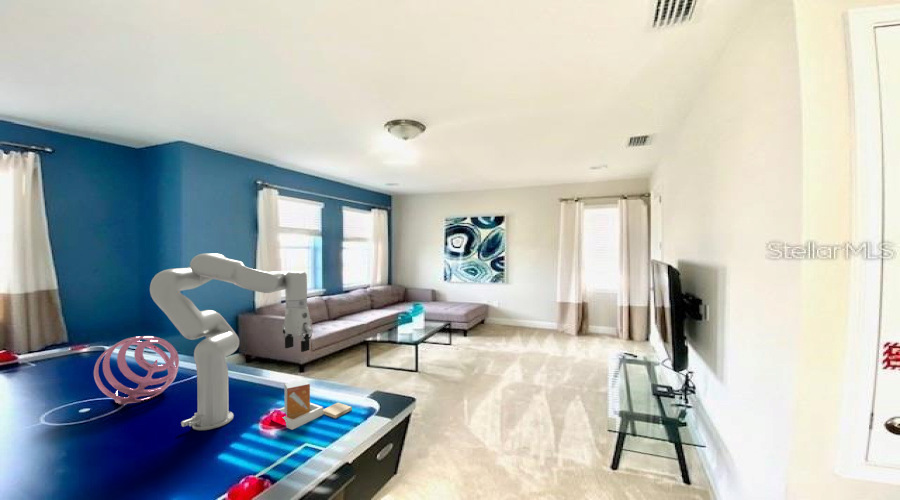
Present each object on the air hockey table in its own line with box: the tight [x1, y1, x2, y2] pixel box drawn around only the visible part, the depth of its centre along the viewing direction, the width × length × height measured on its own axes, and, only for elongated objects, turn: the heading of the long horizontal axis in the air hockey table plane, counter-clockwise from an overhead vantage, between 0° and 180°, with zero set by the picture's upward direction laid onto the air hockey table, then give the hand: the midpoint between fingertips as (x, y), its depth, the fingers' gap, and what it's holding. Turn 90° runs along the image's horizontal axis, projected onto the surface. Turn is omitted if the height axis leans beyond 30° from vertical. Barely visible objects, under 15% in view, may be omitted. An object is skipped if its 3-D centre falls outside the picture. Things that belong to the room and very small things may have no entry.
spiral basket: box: [93, 335, 180, 405], centre depth 150 cm, size 28×28×27 cm
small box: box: [284, 379, 311, 419], centre depth 131 cm, size 8×6×13 cm
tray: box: [270, 402, 324, 430], centre depth 131 cm, size 13×13×3 cm
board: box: [323, 402, 353, 419], centre depth 136 cm, size 8×8×1 cm
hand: (297, 349), depth 131 cm, fingers open, 9 cm apart
